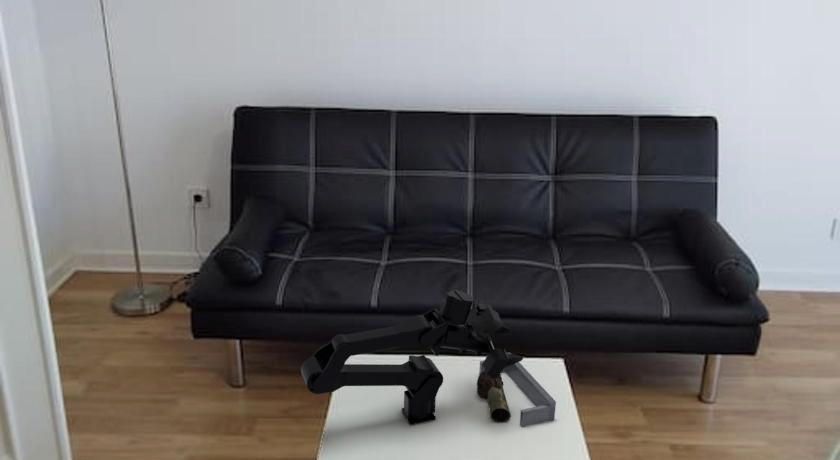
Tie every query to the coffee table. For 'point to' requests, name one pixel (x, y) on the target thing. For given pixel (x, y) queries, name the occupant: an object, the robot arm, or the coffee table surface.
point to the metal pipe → (494, 397)
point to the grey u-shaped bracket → (530, 395)
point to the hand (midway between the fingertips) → (516, 344)
